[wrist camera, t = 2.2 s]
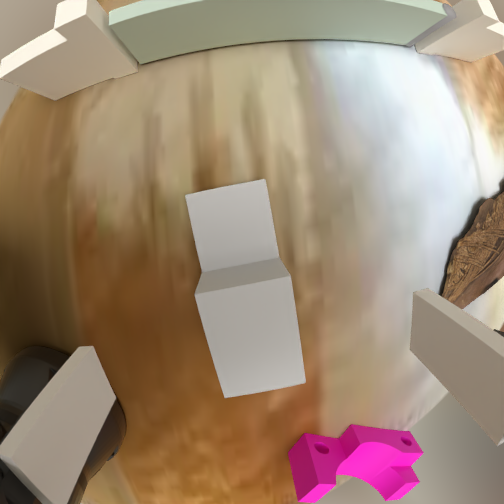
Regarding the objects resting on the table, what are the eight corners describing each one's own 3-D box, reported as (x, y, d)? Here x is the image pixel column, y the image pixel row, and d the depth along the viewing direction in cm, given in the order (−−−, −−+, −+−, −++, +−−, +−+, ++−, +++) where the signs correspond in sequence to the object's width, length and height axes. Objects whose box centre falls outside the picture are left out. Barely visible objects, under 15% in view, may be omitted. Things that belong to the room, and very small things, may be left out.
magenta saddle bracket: (409, 430, 30) (433, 468, 22) (380, 461, 31) (399, 499, 23) (316, 416, 27) (334, 469, 20) (287, 451, 28) (298, 501, 21)
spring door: (140, 65, 19) (108, 26, 12) (138, 39, 18) (109, -3, 11) (415, 47, 19) (458, 20, 12) (407, 24, 19) (447, -6, 12)
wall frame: (55, 102, 19) (-19, 75, 9) (55, 83, 19) (-16, 50, 9) (471, 64, 20) (535, 41, 10) (466, 48, 20) (527, 22, 10)
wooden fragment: (528, 134, 21) (534, 134, 20) (547, 206, 24) (552, 208, 23) (403, 284, 24) (409, 288, 23) (437, 348, 27) (442, 353, 26)
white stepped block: (226, 337, 25) (224, 397, 17) (193, 193, 22) (171, 197, 14) (285, 326, 25) (305, 382, 17) (259, 180, 22) (273, 177, 14)
